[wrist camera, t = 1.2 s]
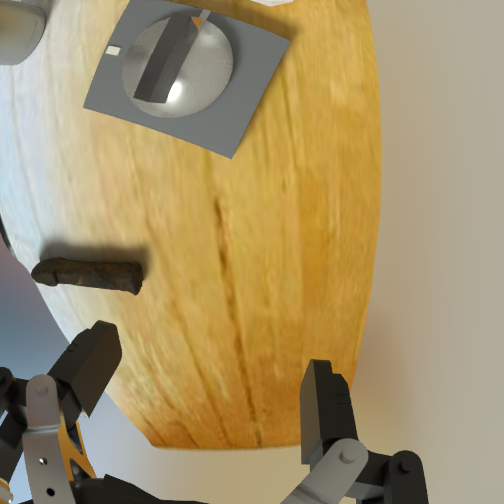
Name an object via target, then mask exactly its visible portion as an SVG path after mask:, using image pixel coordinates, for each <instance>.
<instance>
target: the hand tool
mask: <svg viewBox="0 0 504 504" xmlns="http://www.w3.org/2000/svg"><path fill="white" fill-rule="evenodd" d="M31 276H32V278H33V279H34V280H35V282H37V283H41V284H45V285H48V286H57V284H71V285H77V286H85V287H93V288H102V289H110V290H121V291H128V292H131V293H132V294H134V295H137V294H138V293H139V291H140V289H141V287H142V281H143V278H142V269H141V266H140V264H139V263H136V264H134V265H131V264H130V263H126V264H124V265H116V264H100V263H95V262H93V263H89V262H74V261H66V260H65V259H64V258H53V259H48V260H44V261H41V262H39V263H38V264H37V265H36V266H35V267H34V268H33V270H32V272H31Z"/></svg>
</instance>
